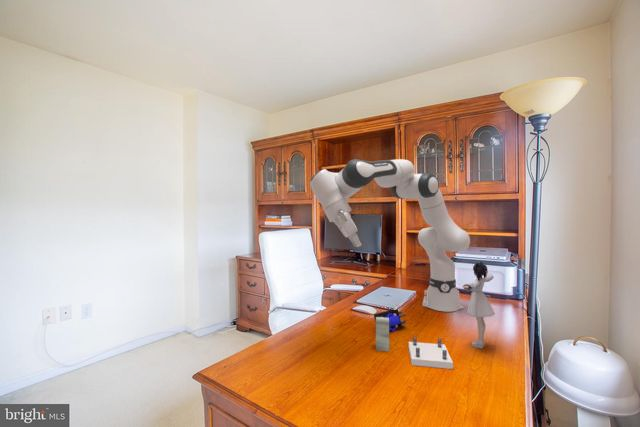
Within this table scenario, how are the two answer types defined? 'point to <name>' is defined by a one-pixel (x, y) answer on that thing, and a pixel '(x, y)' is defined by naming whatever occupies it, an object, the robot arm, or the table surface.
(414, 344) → the display base
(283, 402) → the table surface
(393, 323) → the character figurine
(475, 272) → the figurine
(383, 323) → the sage block
